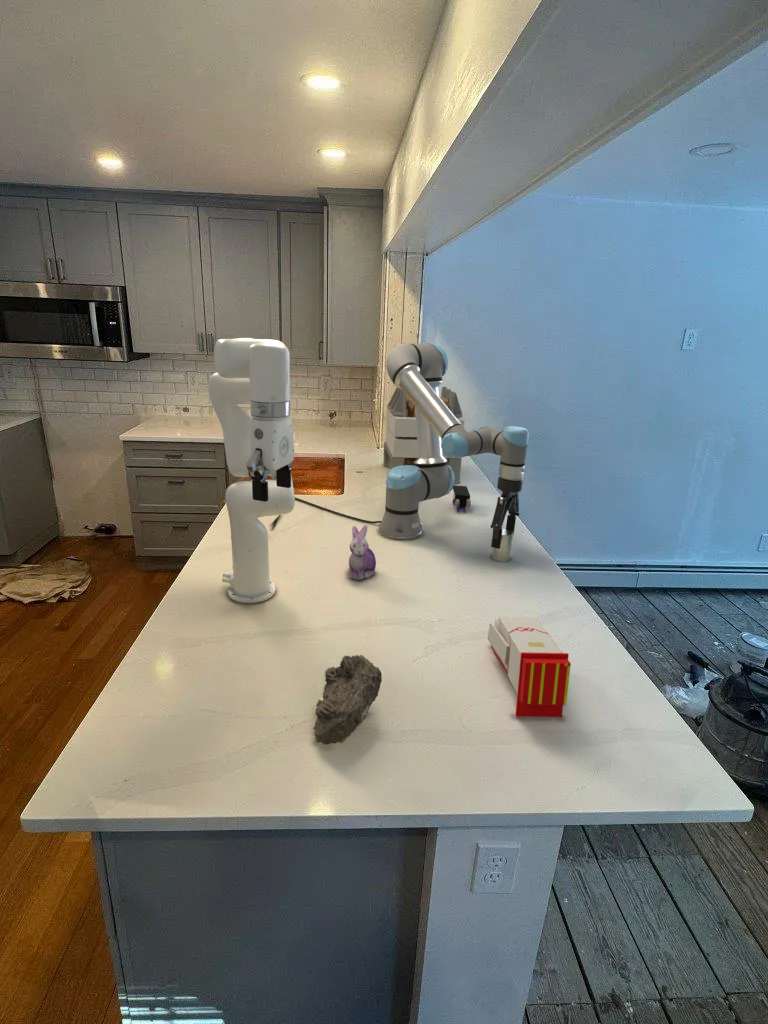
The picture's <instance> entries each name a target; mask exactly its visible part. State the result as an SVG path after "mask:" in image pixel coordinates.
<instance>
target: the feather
mask: <svg viewBox="0 0 768 1024" xmlns="http://www.w3.org/2000/svg"><path fill="white" fill-rule="evenodd" d="M280 518H281V515H277V517H276V518H275V519H274V520H273V521H272V522H271V523H270V526H272V529H274V527H275V526H276V524H277V523H278V521H279V519H280Z"/></svg>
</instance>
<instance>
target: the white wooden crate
mask: <svg viewBox="0 0 768 1024" xmlns="http://www.w3.org/2000/svg"><path fill="white" fill-rule="evenodd" d="M440 393H441V394H440V396H439V398H440V399H441V400H442V401H443V403H444V404H445V405H446V406H447V407H448V409H449V410H450V411H451V412H452V414H453V415H454V416H455V417H456V418H457V420H458V421H459V422H460V423H461V425H462V426H463V427H464V428H465V419H464V418H463V411H462V408H461V405H460V402H459V398H458V395H457V392H455V391H453V390H452V389H451V388H447V386H442V387H441V392H440ZM385 414H386V415H385V423H386V428H385V438H384V442H383V466H384V467H388V468H389V470H390V469H392V468H394V467H397V466H401V465H404V466H406V465H413V466H415V461H416V460H417V459H418V444H417V429H416V414H415V405H414V403H413V402H412V401H411V400H410V398H409V397H408V396H407V395H406V393H405V392H404V391H403V389H399V388H397V387H396V388H395V390H394V392H393V394H392V395H391V398H390V400H389V402H388V404H387V405H386V413H385ZM441 441H442V439H441ZM442 451H443V450H442ZM442 456H443V457H444V458H445V459H446V460H447V465H449V466H450V467H451V468H452V469H451V470H452V471H453V472H454V476H455V482H454V484H455V483H456V484H459V483H461V472H462V461H463V460H462V458H463V457H462V458H448V457H447V456H445V455H444V453H443V452H442Z"/></svg>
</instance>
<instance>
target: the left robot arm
mask: <svg viewBox="0 0 768 1024" xmlns="http://www.w3.org/2000/svg"><path fill="white" fill-rule="evenodd" d="M290 355H291V354H290V349H289V348H288V346H286V345H285V343H284V342H282V341H280V340H277V339H271V338H269V339H268V338H252V337H239V338H238V337H237V338H221V339H217V341H216V342H215V344H214V348H213V363H214V367H215V370H216V372H215V373H213V374H212V375H210V377H209V378H208V386H207V387H208V395H209V400H210V403H211V405H212V408H213V411H214V413H215V415H216V417H217V418H218V421H219V424H220V426H221V429H222V436H223V444H224V452H225V459H226V466H227V469H228V473H230V474H231V475H232V476H233V477H237V478H249V479H250V480H241V481H237V482H234V483H232V484H230V485H228V487H227V488H226V491H225V495H224V497H225V505H226V508H227V509H226V510H227V514H228V518H229V527H230V540H231V541H230V542H231V559H232V572H229V571H224V572H223V573H222V579H221V582H222V583H225V584H229V587H228V589H227V594H228V597H229V598H230V599H231V600H233V601H235V602H238V603H242V604H253V603H254V604H255V603H261V602H264V601H266V600H268V599H270V598H272V597H273V596H274V595H275V593H276V584H275V583H274V582H272V581H270V553H269V552H270V550H269V549H270V547H269V532H268V530H267V529H268V528H267V527H266V526H265V525H264V523H263V522H262V521H261V520H260V519H259V518H264V517H272V516H279V515H280V516H281V515H282V516H283V515H288V514H290V513H292V512H293V510H294V509H295V506H296V505H295V504H296V499H295V497H296V496H295V495H296V494H295V488H294V483H293V481H294V480H293V476H292V468H293V464H292V462H294V459H295V444H294V442H295V441H294V432H293V431H294V430H293V423H292V417H291V378H290V377H291V375H290V373H291V372H290V369H291V368H290V367H291V356H290ZM238 405H250V415H249V413H247V412H246V411H245V410H244V409H243V408H241V407H240V406H238ZM268 476H269V477H271V478H269V479H268Z"/></svg>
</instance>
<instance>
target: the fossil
mask: <svg viewBox="0 0 768 1024" xmlns="http://www.w3.org/2000/svg"><path fill="white" fill-rule="evenodd" d="M324 673H325V675H324V677H325V679H324V681H325V684H324V687H323V692H322V700H321V699H318V700H317V702H316V705H315V706H316V707H317V708H316V709H315V711H316V712H315V716H316V717H315V721H314V726H313V728H312V729H313V730H314V737H315V741H316V742H317V743H322V744H323V745H325V746H327V745H331V744H337V743H339V744H342V743H344V742H345V741H346V740H347V739H348V738H349V737H350V736H351V735H352V734H353V733H354V732H355V731H356V730H357V728H358V727H359V726H360V725H361V724H363V722H364V720H365V719H366V717H367V714H369V711H370V709H371V707H372V705H373V702H376V699H377V697H379V692H380V689H381V685H382V679H383V678H382V677H383V675H382V672H381V670H380V668H379V667H378V666H375V665H374V663H373V662H371V661H370V660H369V659H368V658H366V657H365V656H364V655H362V654H360V655H358V654H356V655H352V656H350V655H344V656H343V657H342V659H341V661H340V664H339V666H336V667H335V666H331V667H328V668H326V670H325V672H324Z"/></svg>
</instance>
